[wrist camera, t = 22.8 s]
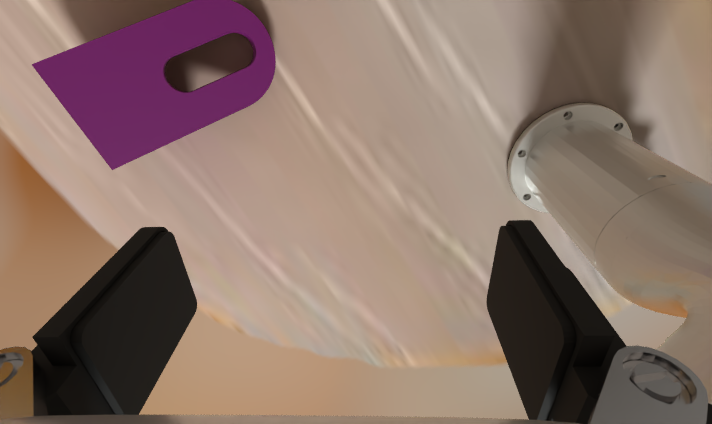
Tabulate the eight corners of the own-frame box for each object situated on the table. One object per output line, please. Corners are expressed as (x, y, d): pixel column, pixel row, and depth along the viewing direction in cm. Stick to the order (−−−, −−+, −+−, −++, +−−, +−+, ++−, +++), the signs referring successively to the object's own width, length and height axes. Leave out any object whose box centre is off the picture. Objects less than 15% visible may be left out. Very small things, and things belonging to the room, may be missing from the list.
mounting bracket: (236, -3, 39) (65, 65, 36) (244, -20, 32) (31, 63, 28) (276, 84, 43) (127, 152, 40) (292, 86, 36) (111, 170, 33)
